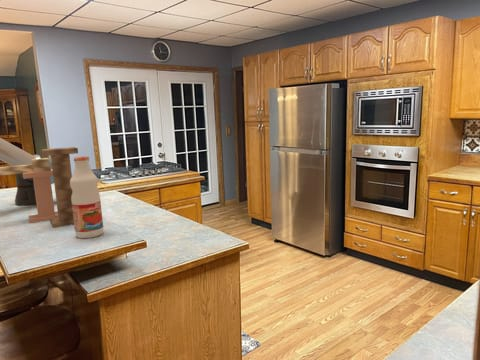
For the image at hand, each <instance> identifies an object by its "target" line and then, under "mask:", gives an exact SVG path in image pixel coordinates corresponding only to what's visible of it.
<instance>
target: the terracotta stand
mask: <svg viewBox="0 0 480 360" xmlns="http://www.w3.org/2000/svg"><path fill="white" fill-rule="evenodd" d="M50 176H53V170H52V169H51V171H46V172H35V173H34V172H30V173H23V178H24V179H26V178H33V182H34V189H35V197H36V204H35V205H36V209H37V214H33V215H32V214H31V215H30V214H29V215H28V221H29V224H33V223H34V224H35V223H41V222H46V220H47V221H50V219H54V218H59V217H58V210H57V211H55V203H54V198H53V196H54V195H53V189H52V188H53V187H52V184H51V179H50ZM40 221H41V222H40Z"/></svg>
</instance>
